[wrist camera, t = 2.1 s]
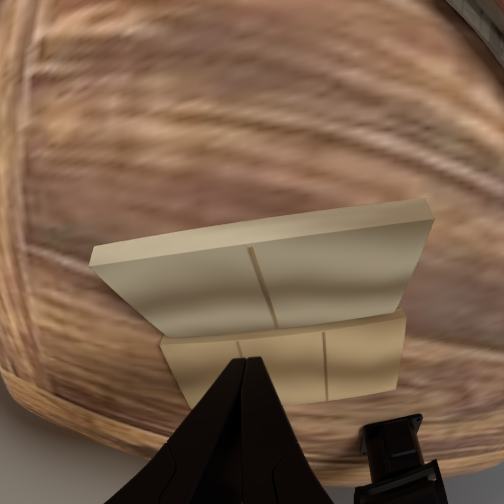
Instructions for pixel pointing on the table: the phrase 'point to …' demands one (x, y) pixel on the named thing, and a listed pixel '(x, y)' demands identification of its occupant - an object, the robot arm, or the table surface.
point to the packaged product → (485, 22)
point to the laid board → (298, 358)
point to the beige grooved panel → (270, 269)
